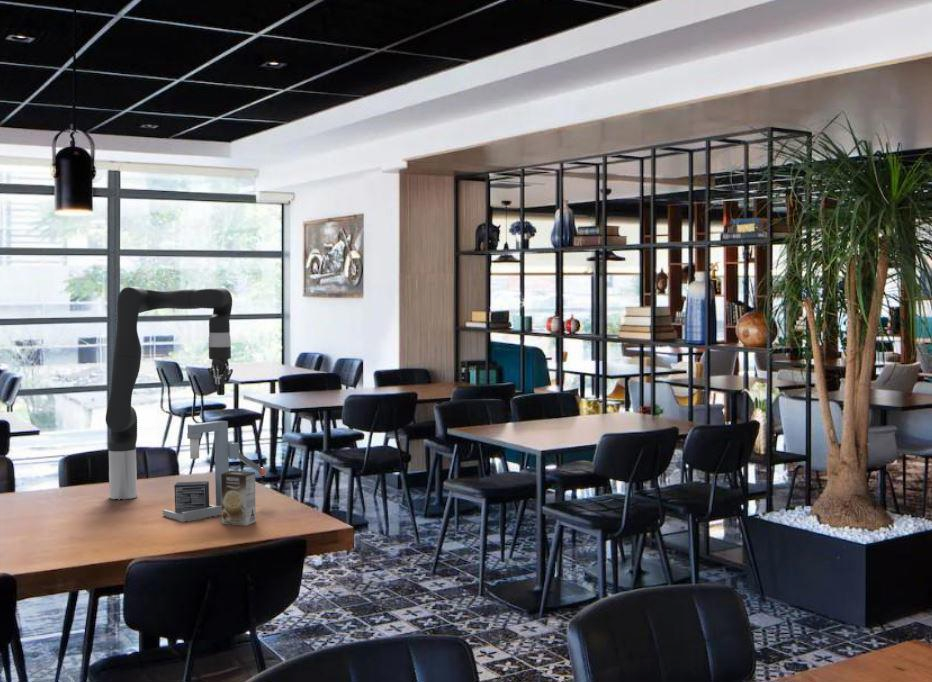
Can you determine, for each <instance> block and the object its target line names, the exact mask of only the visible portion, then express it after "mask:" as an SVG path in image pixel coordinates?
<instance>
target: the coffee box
mask: <svg viewBox="0 0 932 682" xmlns="http://www.w3.org/2000/svg"><path fill="white" fill-rule="evenodd" d="M221 490H222V515H221V524H224V525H231V524H232V525H231V526H233V525H234V526H245V527H246V526H249V525H251V524H253V523H256V521H257V520H256V519H257V518H256V516H257V513H256V471H243V470H232V469H231V470H229V471H228V472H225V473H223V474H221Z"/></svg>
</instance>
